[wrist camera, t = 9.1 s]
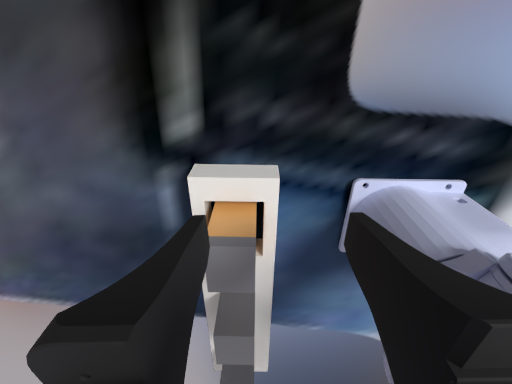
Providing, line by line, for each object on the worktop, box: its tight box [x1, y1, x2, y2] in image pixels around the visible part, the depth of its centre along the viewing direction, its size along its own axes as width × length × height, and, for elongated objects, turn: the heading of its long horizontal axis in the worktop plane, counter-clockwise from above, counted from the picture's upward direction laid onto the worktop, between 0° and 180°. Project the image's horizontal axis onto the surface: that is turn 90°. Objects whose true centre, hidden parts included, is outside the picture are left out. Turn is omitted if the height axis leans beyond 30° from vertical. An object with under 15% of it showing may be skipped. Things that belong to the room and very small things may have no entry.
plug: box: [206, 201, 257, 293], centre depth 21 cm, size 4×4×7 cm
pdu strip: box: [187, 164, 280, 384], centre depth 25 cm, size 7×28×7 cm, turn 179°
